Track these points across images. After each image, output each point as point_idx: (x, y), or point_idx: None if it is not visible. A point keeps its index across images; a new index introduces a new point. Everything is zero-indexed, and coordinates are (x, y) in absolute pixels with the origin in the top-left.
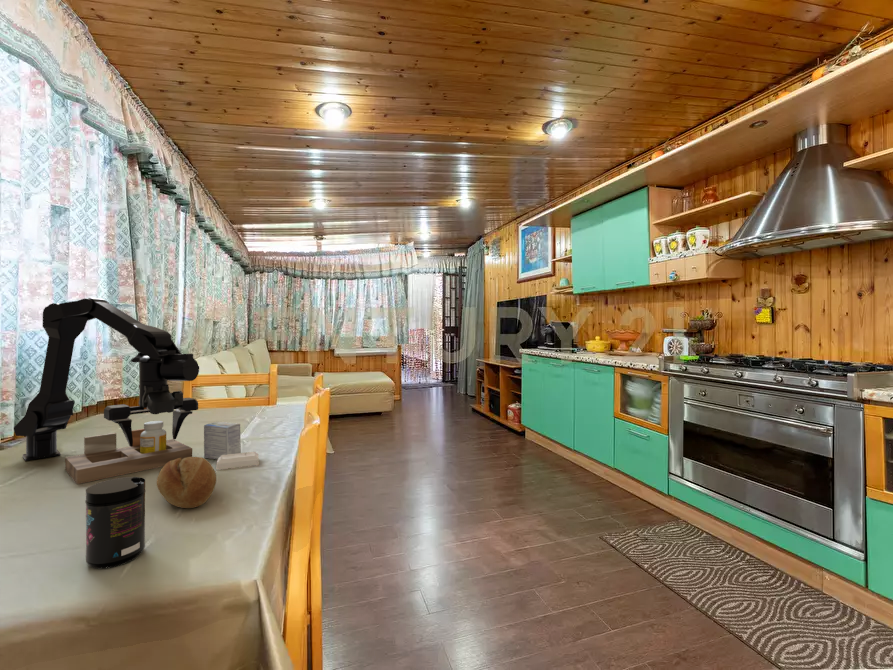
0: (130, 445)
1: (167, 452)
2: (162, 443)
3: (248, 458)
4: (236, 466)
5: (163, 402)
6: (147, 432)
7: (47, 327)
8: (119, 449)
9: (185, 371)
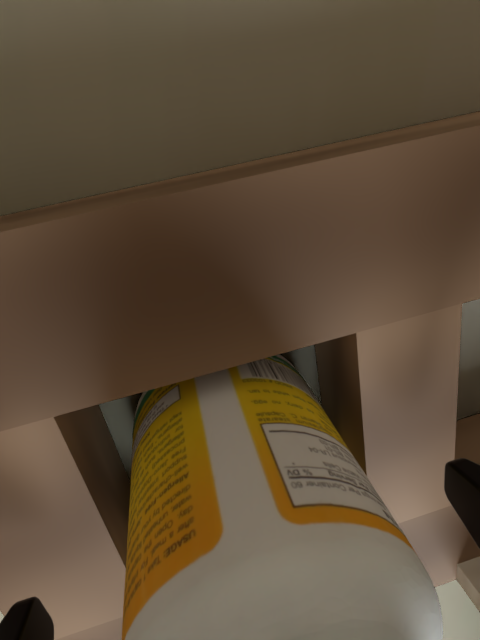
0: (473, 464)
1: (110, 241)
2: (168, 472)
3: None
4: None
5: None
6: (404, 629)
7: None
8: (445, 553)
9: None
